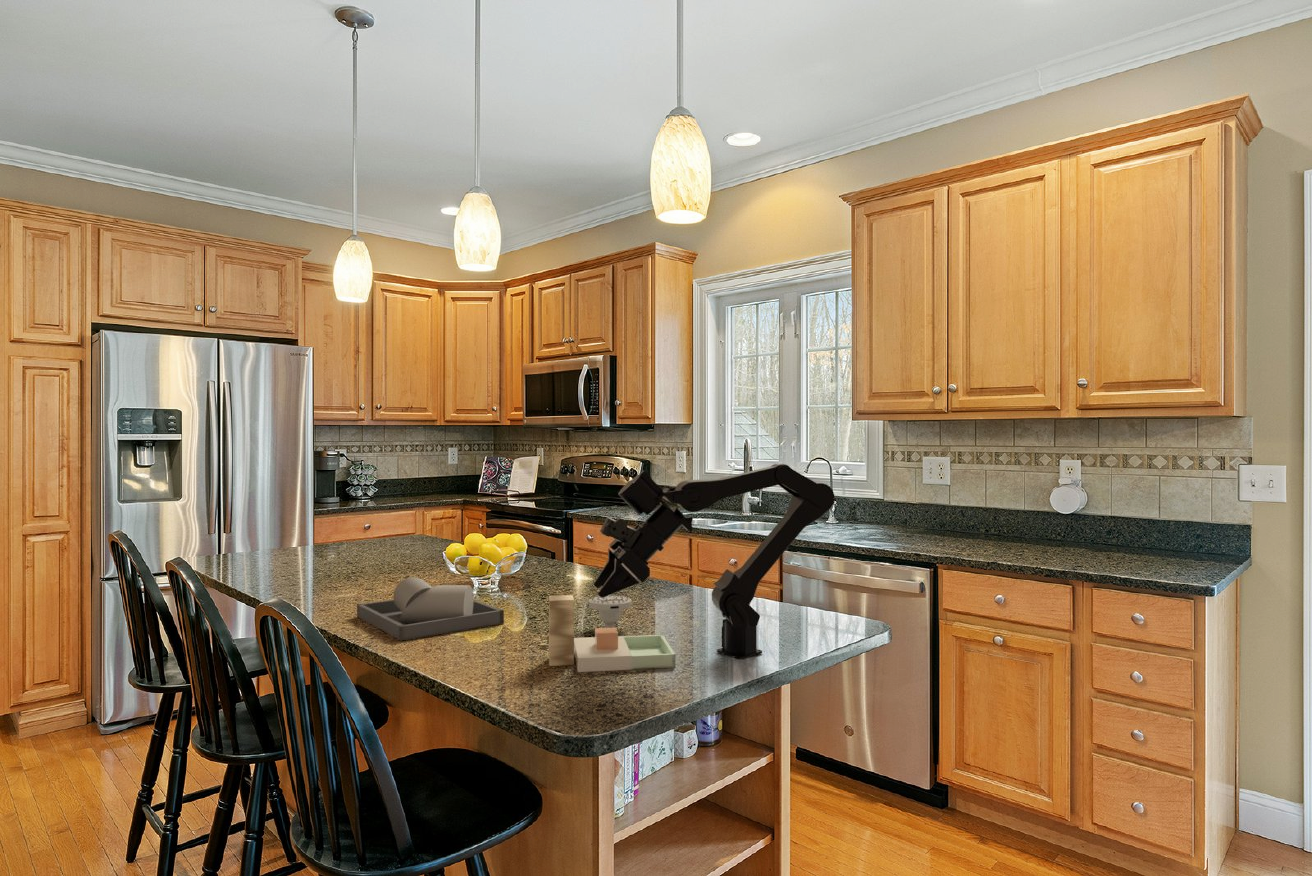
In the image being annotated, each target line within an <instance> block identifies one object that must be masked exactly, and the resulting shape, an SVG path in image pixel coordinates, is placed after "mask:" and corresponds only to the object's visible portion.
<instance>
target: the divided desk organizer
mask: <svg viewBox="0 0 1312 876" xmlns="http://www.w3.org/2000/svg"><path fill="white" fill-rule="evenodd" d="M504 612H505V610H504V609H501V608H498V607H495V606H492V605H491V604H488V603H484V602H482V601H479V600H476V599H474V598H473V612H472V614H471V615H465V616H458V617H452V618H446V619H439V620H433V621H427V622H420V623H401V622H400V616H401V614H402V611H401V610H400V609H399V608H398V607H397V606H396V605H395V603H394V599H388V600H380V601H372V602H366V603H359V604H357V605H356V618H357V617H358V619H359V618H360V620H361V621H363V620H364V621H363V622H365V621H366V622H365V623H366V624H368V623H369V624H368V625H370V626H372V625H373V626H372V627H374V626H375V627H374V628H376V627H377V628H376V629H378V630H379V629H381V630H383V631H384V632H383V631H382V632H383V633H385V632H386V633H385V634H387V635H388V634H390V635H391V636H390V635H389V636H390V637H392V636H393V637H392V638H394V639H396V638H397V639H396V640H398V639H399V640H400V642H403V641H402V640H406V641H408V640H407V639H411V640H414V639H413V638H417V639H422V637H423V638H428V637H427V636H429V637H434V636H433V635H435V636H440V635H439V634H441V635H445V634H451V633H457V632H464V631H470V630H475V629H479V628H480V629H481V628H487V627H492V626H499V625H504V623H505V622H504V621H505V618H504V616H505V614H504ZM381 630H380V631H381ZM399 640H398V641H399Z"/></svg>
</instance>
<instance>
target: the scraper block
mask: <svg viewBox="0 0 1312 876" xmlns="http://www.w3.org/2000/svg"><path fill="white" fill-rule="evenodd" d="M574 638H575V599H574V595H573V594H568V595H567V594H565V595H549V596H548V665H549V667H551V666H552V667H553V666H555V667H556V666H557V667H558V666H574V664H575V655H574Z"/></svg>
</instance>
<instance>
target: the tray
mask: <svg viewBox="0 0 1312 876" xmlns="http://www.w3.org/2000/svg"><path fill="white" fill-rule="evenodd" d="M622 636H623V635H622ZM623 637H624V639H625V641H626V644H627V646H628V648H629V650H630V652H631V654H632V671H633V670H648V669H653V670H654V669H672V668H674V669H675V668H676V665H677V663H676V662H677V661H676V660H677V659H676V658H677V657H676V652H675V651H674V649H673V648H672V646H671V645H670V644H669V642H668V641H667V639H666V638H665V636H664V634H656V635H655V634H651V635H648V634H647V635H628V636H627V635H626V636H623Z"/></svg>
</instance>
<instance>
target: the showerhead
mask: <svg viewBox="0 0 1312 876" xmlns="http://www.w3.org/2000/svg"><path fill="white" fill-rule="evenodd" d="M588 607H589V608H590V609H592V610H595V611H598V618H599V619H598V620H599V621H600V622H603V623H605V625H604V628H616V622H619V621H620V620H622V611H623V610H627V609H630V608H631V607H632V599H631V598H630V597H628V596H626V595H618V594H615V595H613V594H610V595H608V596H606V597H603V598H601V597H600V596H599V595H597V596H593V597H592V598H589V599H588Z"/></svg>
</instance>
